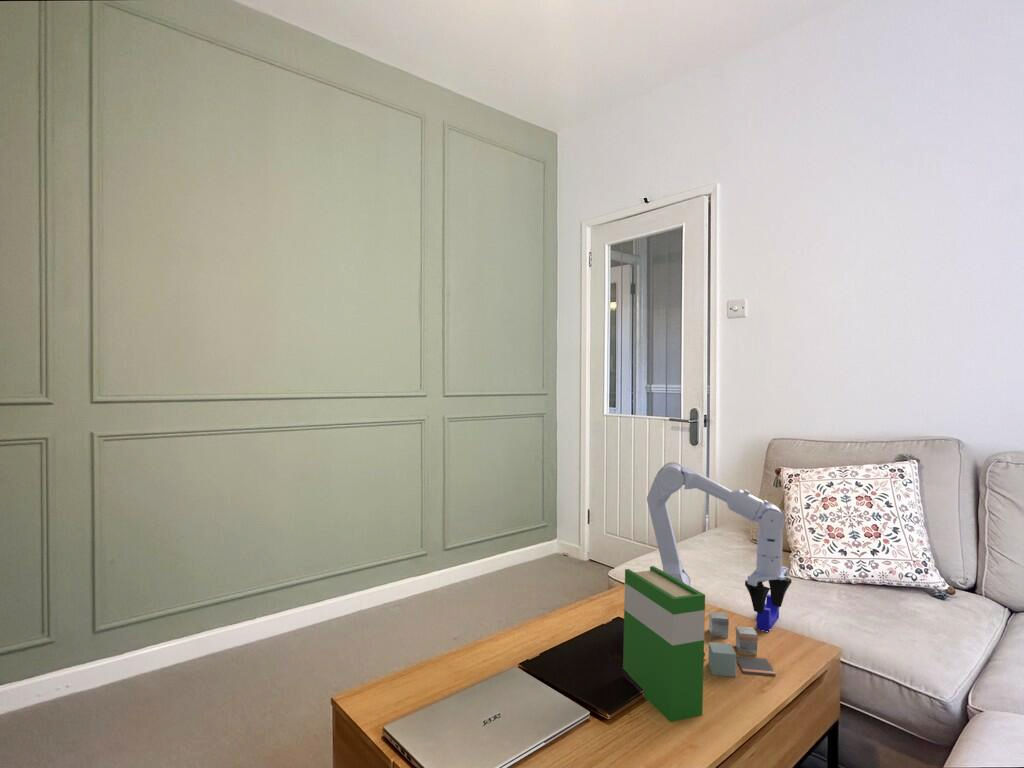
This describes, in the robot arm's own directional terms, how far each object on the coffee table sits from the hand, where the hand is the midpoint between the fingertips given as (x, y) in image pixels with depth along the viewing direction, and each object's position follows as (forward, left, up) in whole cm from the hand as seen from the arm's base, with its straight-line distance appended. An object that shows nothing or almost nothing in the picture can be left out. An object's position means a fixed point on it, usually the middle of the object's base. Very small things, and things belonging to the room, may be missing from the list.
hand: (767, 608), depth 141 cm
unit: (-13, -13, -10) cm, 21 cm away
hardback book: (-28, -26, -10) cm, 40 cm away
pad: (-5, -10, -10) cm, 15 cm away
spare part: (-5, -2, -10) cm, 11 cm away
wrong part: (-10, +6, -10) cm, 15 cm away
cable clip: (+4, +16, -10) cm, 19 cm away
